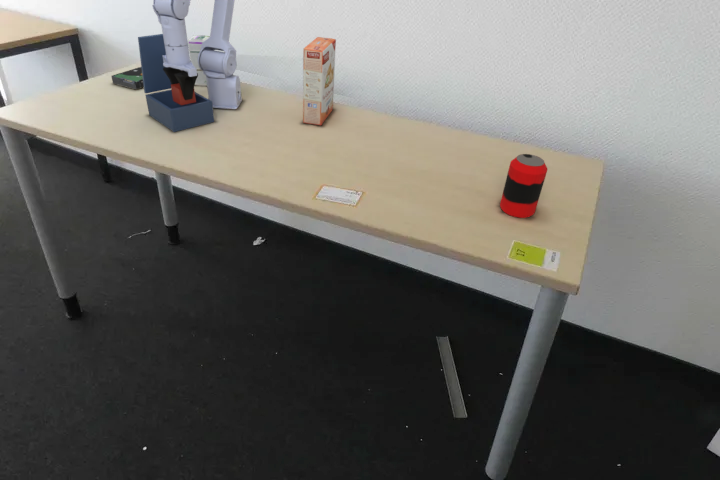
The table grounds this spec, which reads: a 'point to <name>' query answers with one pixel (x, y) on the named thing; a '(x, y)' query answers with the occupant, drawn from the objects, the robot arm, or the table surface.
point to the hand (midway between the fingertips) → (183, 96)
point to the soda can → (523, 185)
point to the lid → (153, 63)
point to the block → (180, 95)
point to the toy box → (179, 111)
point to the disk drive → (129, 78)
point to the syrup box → (194, 50)
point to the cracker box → (318, 80)
